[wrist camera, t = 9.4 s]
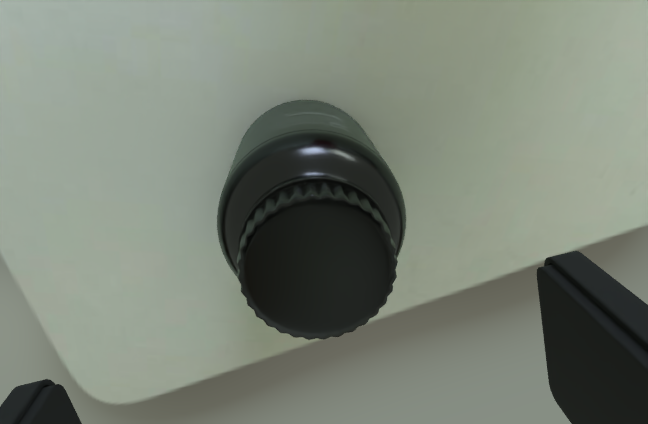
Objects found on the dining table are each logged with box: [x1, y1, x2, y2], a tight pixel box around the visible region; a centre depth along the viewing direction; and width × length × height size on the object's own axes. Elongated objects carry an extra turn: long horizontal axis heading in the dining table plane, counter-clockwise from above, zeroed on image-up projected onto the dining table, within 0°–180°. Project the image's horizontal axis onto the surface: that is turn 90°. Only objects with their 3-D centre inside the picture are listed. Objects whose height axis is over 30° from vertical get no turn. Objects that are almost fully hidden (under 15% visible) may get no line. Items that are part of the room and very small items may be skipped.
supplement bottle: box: [217, 100, 406, 340], centre depth 22 cm, size 7×7×12 cm
